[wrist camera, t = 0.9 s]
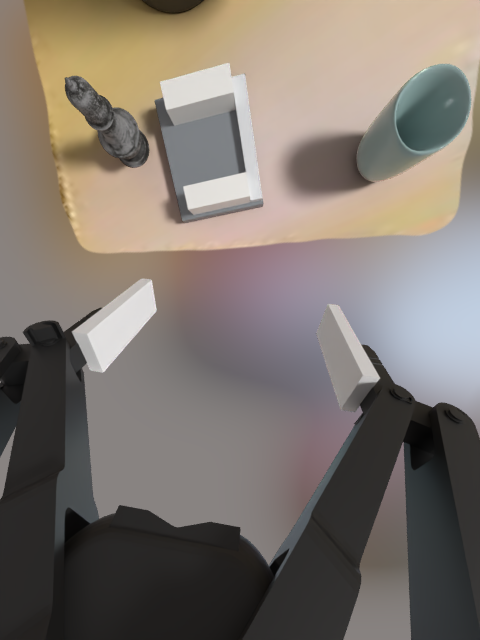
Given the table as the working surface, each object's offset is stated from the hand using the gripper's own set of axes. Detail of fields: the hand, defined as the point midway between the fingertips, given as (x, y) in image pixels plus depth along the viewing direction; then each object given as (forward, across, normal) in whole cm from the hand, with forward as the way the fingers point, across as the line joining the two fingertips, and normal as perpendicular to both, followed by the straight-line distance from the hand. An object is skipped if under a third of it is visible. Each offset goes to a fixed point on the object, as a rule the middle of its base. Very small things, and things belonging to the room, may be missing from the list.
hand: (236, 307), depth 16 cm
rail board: (+26, -8, +10) cm, 29 cm away
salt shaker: (+26, -21, +10) cm, 35 cm away
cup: (+28, +16, +12) cm, 35 cm away
